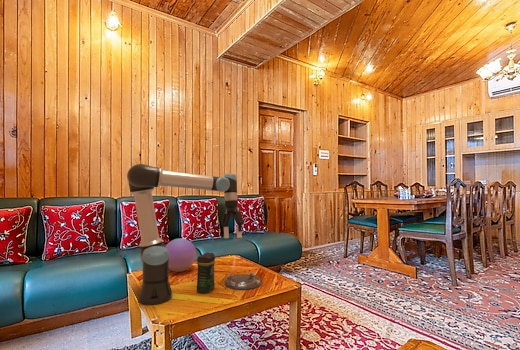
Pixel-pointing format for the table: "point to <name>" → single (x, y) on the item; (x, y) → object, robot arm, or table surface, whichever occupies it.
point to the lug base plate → (242, 281)
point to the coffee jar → (205, 273)
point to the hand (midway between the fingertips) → (232, 238)
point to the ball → (181, 254)
